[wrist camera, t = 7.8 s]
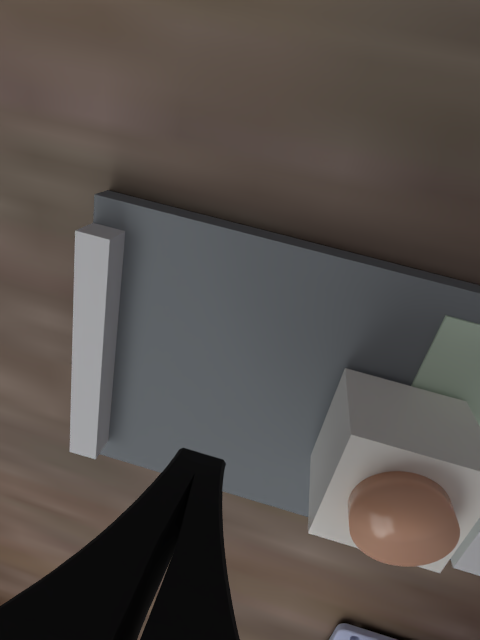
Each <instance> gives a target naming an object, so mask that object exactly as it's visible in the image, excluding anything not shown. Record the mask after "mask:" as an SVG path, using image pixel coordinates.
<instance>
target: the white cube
mask: <svg viewBox="0 0 480 640" xmlns="http://www.w3.org/2000/svg"><path fill="white" fill-rule="evenodd" d="M479 518H480V426H479V424H478V422H477V420H476V418H475V417H474V415H473V413H472V411H471V409H470V407H469V405H468V403H467V401H463V400H459V399H456V398H452V397H448V396H445V395H441V394H438V393H434V392H430V391H427V390H423V389H419V388H416V387H412V386H408V385H405V384H401V383H398V382H394V381H390V380H387V379H383V378H379V377H376V376H372V375H368V374H365V373H361V372H358V371H354V370H350V369H347V368H345V369H344V372H343V374H342V377H341V379H340V382H339V385H338V387H337V390H336V392H335V395H334V397H333V400H332V402H331V405H330V408H329V410H328V413H327V415H326V418H325V420H324V423H323V425H322V428H321V430H320V433H319V436H318V438H317V441H316V443H315V446H314V448H313V451H312V453H311V460H310V489H309V517H308V533H310V534H313V535H316V536H319V537H323V538H326V539H329V540H333V541H336V542H339V543H342V544H346V545H349V546H352V547H356V548H359V549H360V550H361V551H362V552H363V553H365V554H366V555H368V556H369V557H371V558H373V559H375V560H377V561H380V562H383V563H386V564H390V565H395V566H404V567H412V566H418V567H421V568H424V569H428V570H431V571H434V572H438V573H440V572H441V571H442V569H443V568H444V567H445V565H446V564H447V562H448V561H449V560H450V558H451V557H452V556H453V554H454V553H455V551H456V550H457V549H458V547H459V546H460V544H461V543H462V542H463V540H464V539H465V537H466V536H467V535H468V533H469V532H470V530H471V529H472V528H473V526H474V525H475V523H476V522H477V521H478V519H479Z"/></svg>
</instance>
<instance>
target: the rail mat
mask: <svg viewBox="0 0 480 640" xmlns="http://www.w3.org/2000/svg"><path fill="white" fill-rule="evenodd" d="M345 368H347V369H350V370H354V371H358V372H361V373H365V374H368V375H372V376H376V377H379V378H383V379H387V380H390V381H394V382H398V383H401V384H405V385H408V386H412V387H416V388H419V389H423V390H427V391H430V392H434V393H438V394H441V395H445V396H448V397H452V398H456V399H459V400H463V401H467V403H468V405H469V407H470V409H471V411H472V413H473V415H474V417H475V418H476V420H477V422H478V424H479V426H480V285H477V284H473V283H469V282H465V281H461V280H457V279H453V278H449V277H445V276H441V275H437V274H434V273H430V272H426V271H422V270H418V269H414V268H410V267H406V266H402V265H398V264H394V263H391V262H387V261H383V260H379V259H375V258H371V257H367V256H363V255H359V254H355V253H351V252H348V251H344V250H340V249H336V248H332V247H328V246H324V245H320V244H316V243H312V242H308V241H305V240H301V239H297V238H293V237H289V236H285V235H281V234H277V233H273V232H269V231H265V230H262V229H258V228H254V227H250V226H246V225H242V224H238V223H234V222H230V221H226V220H222V219H218V218H215V217H211V216H207V215H203V214H199V213H195V212H191V211H187V210H183V209H179V208H175V207H172V206H168V205H164V204H160V203H156V202H152V201H148V200H144V199H140V198H136V197H132V196H129V195H125V194H121V193H117V192H113V191H109V190H107V191H104V192H101V193H98V194H95V197H94V219H93V223H92V224H90V225H87V226H85V227H83V228H80V229H78V230H76V231H75V262H74V302H73V341H72V381H71V421H70V452H73V453H76V454H79V455H82V456H86V457H89V458H92V459H96V458H97V457H98V455H99V454H101V455H104V456H108V457H111V458H114V459H118V460H121V461H124V462H128V463H131V464H134V465H138V466H141V467H144V468H147V469H151V470H154V471H157V472H161V473H162V472H163V470H164V469H165V468H166V467H167V465H168V464H169V463H170V462H171V460H172V459H173V458H174V456H175V455H176V453H177V452H178V450H179V449H181V448H186V449H190V450H193V451H196V452H200V453H203V454H206V455H210V456H213V457H216V458H220V459H223V460H224V461H225V463H226V466H225V471H224V477H223V489H222V491H224V492H227V493H230V494H234V495H237V496H240V497H244V498H247V499H250V500H253V501H257V502H260V503H263V504H267V505H270V506H273V507H277V508H280V509H283V510H287V511H290V512H293V513H297V514H300V515H303V516H306V517H309V489H310V460H311V453H312V451H313V448H314V446H315V443H316V441H317V438H318V436H319V433H320V430H321V428H322V425H323V423H324V420H325V418H326V415H327V413H328V410H329V408H330V405H331V402H332V400H333V397H334V395H335V392H336V390H337V387H338V385H339V382H340V379H341V377H342V374H343V372H344V369H345ZM450 560H451V562H452V566H453V568H455V569H459V570H462V571H465V572H469V573H472V574H475V575H478V576H480V518H479V519H478V521H477V522H476V523H475V525H474V526H473V528H472V529H471V530H470V532H469V533H468V535H467V536H466V537H465V539H464V540H463V542H462V543H461V544H460V546H459V547H458V549H457V550H456V551H455V553H454V554H453V556H452V557H451V558H450Z"/></svg>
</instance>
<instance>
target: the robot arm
mask: <svg viewBox="0 0 480 640" xmlns="http://www.w3.org/2000/svg"><path fill="white" fill-rule="evenodd" d="M225 466H226V463H225V461H224V460H223V459H220V458H216V457H213V456H210V455H206V454H203V453H200V452H196V451H193V450H190V449H186V448H181V449H179V450H178V452H177V453H176V455H175V456H174V458H173V459H172V460H171V462H170V463H169V464H168V465H167V467H166V468H165V469H164V470H163V472H162V473H161V474H160V475H159V476H158V477H157V478H156V480H155V481H154V482H153V483H152V484H151V485H150V486H149V487H148V488H147V489H146V490H145V491H144V493H143V494H142V495H141V496H140V497H139V498H138V499H137V500H136V501H135V502H134V503H133V504H132V505H131V506H130V507H129V508H128V509H127V510H126V511H125V512H123V513H122V514H121V515H120V516H119V517H118V518H117V519H116V520H115V521H114V522H113V523H112V524H111V525H110V526H108V527H107V528H106V529H105V530H104V531H103V532H102V533H100V534H99V535H98V536H97V537H96V538H95V539H93V540H92V541H91V542H90V543H88V544H87V545H86V546H85V547H84V548H82V549H81V550H80V551H79V552H77V553H76V554H75V555H73V556H72V557H71V558H69V559H68V560H67V561H65V562H64V563H63V564H61V565H60V566H59V567H58V568H56V569H55V570H53V571H52V572H51V573H49V574H48V575H46V576H45V577H44V578H42V579H41V580H39V581H38V582H36V583H35V584H33V585H32V586H30V587H29V588H27V589H26V590H24V591H23V592H21V593H19V594H18V595H16V596H15V597H13V598H12V599H10V600H9V601H7V602H6V603H4V604H3V605H1V606H0V640H137V638H138V635H139V632H140V630H141V627H142V625H143V622H144V620H145V617H146V615H147V613H148V610H149V608H150V606H151V603H152V601H153V599H154V597H155V594H156V592H157V590H158V587H159V585H160V583H161V581H162V578H163V576H164V574H165V571H166V569H167V567H168V569H167V572H166V574H165V577H164V580H163V582H162V585H161V588H160V590H159V593H158V595H157V598H156V601H155V603H154V606H153V608H152V611H151V614H150V616H149V619H148V621H147V624H146V626H145V629H144V631H143V634H142V636H141V639H140V640H240V639H239V635H238V630H237V626H236V621H235V616H234V611H233V605H232V600H231V594H230V588H229V582H228V575H227V567H226V559H225V549H224V538H223V519H222V489H223V477H224V471H225ZM172 555H173V556H172ZM170 560H171V561H170ZM169 562H170V564H169ZM168 565H169V566H168ZM329 640H397V639H394V638H391V637H388V636H385V635H382V634H379V633H375V632H372V631H369V630H366V629H363V628H360V627H356V626H353V625H350V624H346V623H341V624H339V625H338V626H337V627H336V628H335V630H334V632H333V634H332V635H331V637H330V639H329Z"/></svg>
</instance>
